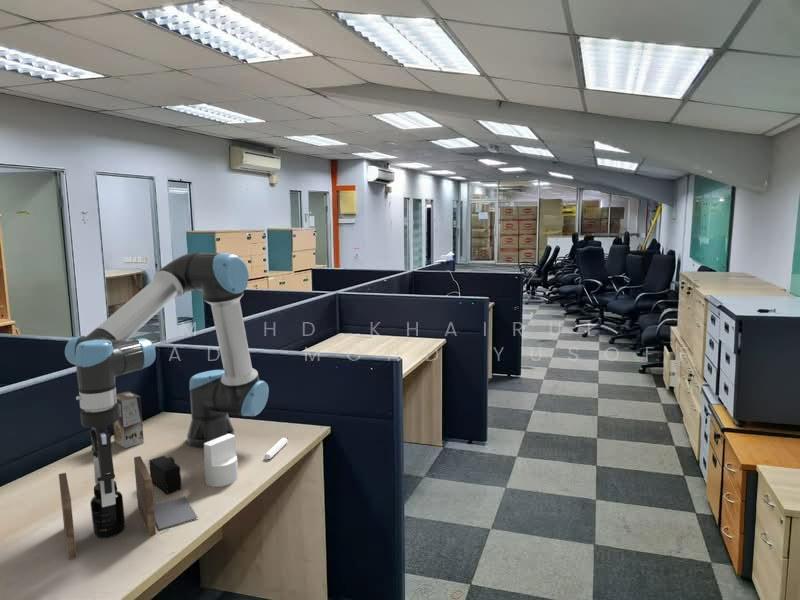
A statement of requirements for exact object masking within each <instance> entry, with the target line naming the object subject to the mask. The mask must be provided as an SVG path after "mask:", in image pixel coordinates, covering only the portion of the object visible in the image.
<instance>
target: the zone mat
mask: <svg viewBox="0 0 800 600" xmlns="http://www.w3.org/2000/svg"><path fill="white" fill-rule="evenodd" d="M154 515H155V525H156V526H157V528H158V530H159V531H163V530H166V529H169V528H172V527H176V526H179V524H180V525H182V523H183V524H185V523H184V522H186V523H189V522H188V521H190V522H192V521H191V520H193V521H195V520H194V519H196V518H198V519H199V517H198V515H197V514H196V512H195V511H194V509H193V507H192V505H191V504H190V502H189V500H188V499H187V497H186V496H185V495H184V496H180V497H176V498H173V499H170V500H166V501H161V502H158V503H155V504H154ZM196 520H197V519H196Z"/></svg>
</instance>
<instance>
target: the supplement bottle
mask: <svg viewBox="0 0 800 600" xmlns="http://www.w3.org/2000/svg"><path fill="white" fill-rule="evenodd" d="M114 487H115V501H116V504H114V505H110V506H106V507H102V499H101V486H100V483H98V484H95V485H93V497H92V498H91V499H90V510H91V521H92V529H93V534H94V536H95V537H96V538H98V539H107V538H114V537H115V536H117V535H119V534H121V533H122V532H123V531H124V530H125V528H126V519H125V518H126V517H125V507H124V499H123V494H122V492H121V491H118V486H117V482H116V480H114Z"/></svg>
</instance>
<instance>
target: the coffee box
mask: <svg viewBox="0 0 800 600" xmlns="http://www.w3.org/2000/svg"><path fill="white" fill-rule="evenodd" d="M141 398H142V397H141V396H140V395H138V394H137V393H133V392H131V391H129V390H128V391H124V392H121V393H116V399H117V403H116V404H115V405H116V406H117V417H118V419H117V421H116V422H115V423H113V424H112V429H113V440H114V442H115V443H116V444H117V445H120V446H121V447H123V448H124V449H127V448H131V447H135V446H137V445H141V444H143V443H144V442H145V441H144V427H143V416H142V415H143V412H142V402H141V400H142V399H141Z"/></svg>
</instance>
